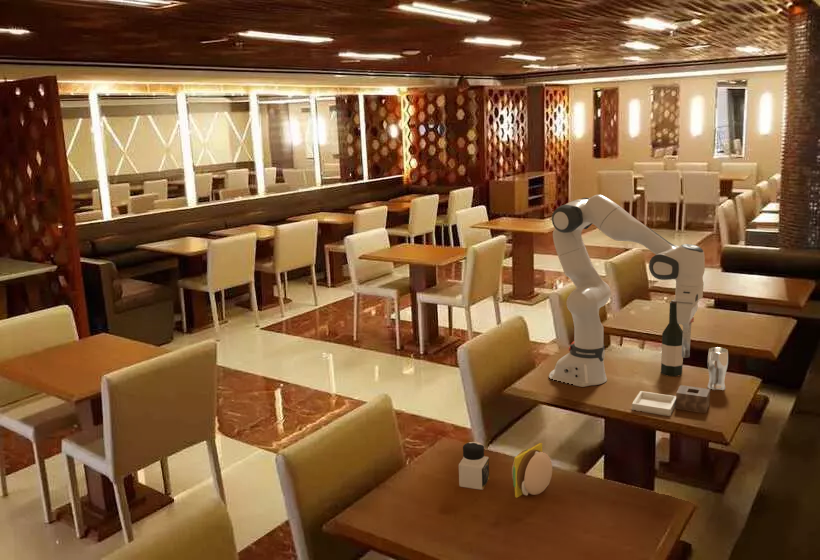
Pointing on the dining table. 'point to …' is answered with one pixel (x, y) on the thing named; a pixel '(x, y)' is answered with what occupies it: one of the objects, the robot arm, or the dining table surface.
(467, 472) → the medicine bottle
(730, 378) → the dining table surface
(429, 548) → the dining table surface
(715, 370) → the beer glass
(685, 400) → the block
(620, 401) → the dining table surface
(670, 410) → the tray
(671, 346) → the wine bottle
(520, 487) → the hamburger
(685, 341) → the pin
